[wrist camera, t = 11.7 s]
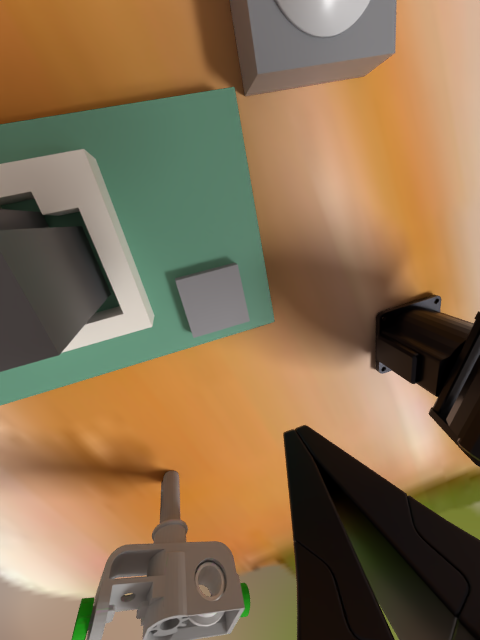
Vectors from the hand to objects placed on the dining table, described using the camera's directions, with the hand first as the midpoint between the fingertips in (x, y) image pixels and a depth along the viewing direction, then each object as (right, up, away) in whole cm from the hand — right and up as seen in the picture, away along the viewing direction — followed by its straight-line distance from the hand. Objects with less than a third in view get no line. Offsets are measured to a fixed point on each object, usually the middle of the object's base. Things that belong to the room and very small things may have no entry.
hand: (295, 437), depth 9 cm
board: (-11, +8, +8) cm, 15 cm away
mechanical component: (-8, -11, +15) cm, 20 cm away
